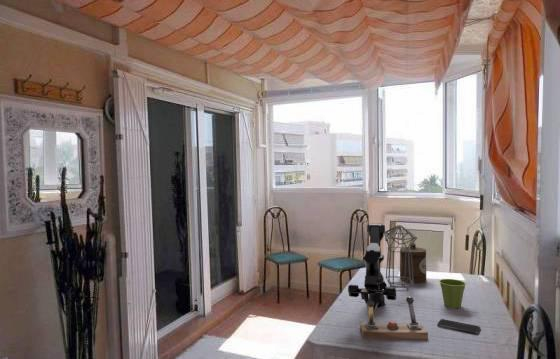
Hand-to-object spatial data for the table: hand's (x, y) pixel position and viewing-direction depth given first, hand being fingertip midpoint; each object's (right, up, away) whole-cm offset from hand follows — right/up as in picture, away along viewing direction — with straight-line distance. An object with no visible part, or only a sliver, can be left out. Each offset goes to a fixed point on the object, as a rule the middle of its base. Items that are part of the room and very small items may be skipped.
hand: (371, 312), depth 146 cm
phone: (+37, -8, +5) cm, 38 cm away
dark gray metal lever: (0, -4, 0) cm, 4 cm away
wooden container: (+43, -8, +75) cm, 87 cm away
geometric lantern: (+29, -8, +57) cm, 64 cm away
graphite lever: (+17, -4, -1) cm, 17 cm away
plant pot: (+46, -8, +30) cm, 55 cm away
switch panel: (+8, -8, 0) cm, 12 cm away
